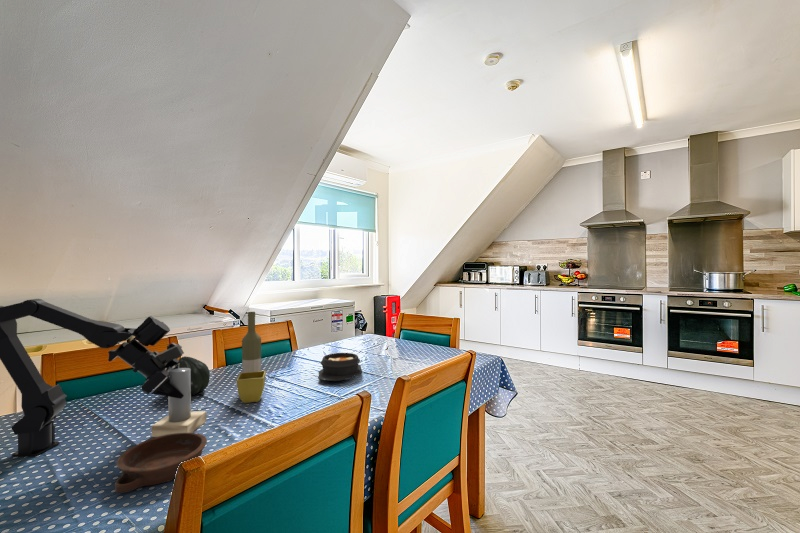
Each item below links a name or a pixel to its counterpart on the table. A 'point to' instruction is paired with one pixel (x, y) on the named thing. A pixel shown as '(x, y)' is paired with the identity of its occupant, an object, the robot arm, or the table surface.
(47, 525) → the table surface
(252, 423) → the table surface
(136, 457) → the dish
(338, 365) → the casserole
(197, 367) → the squash
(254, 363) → the bottle
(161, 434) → the base block
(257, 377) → the flower pot
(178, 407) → the tumbler
